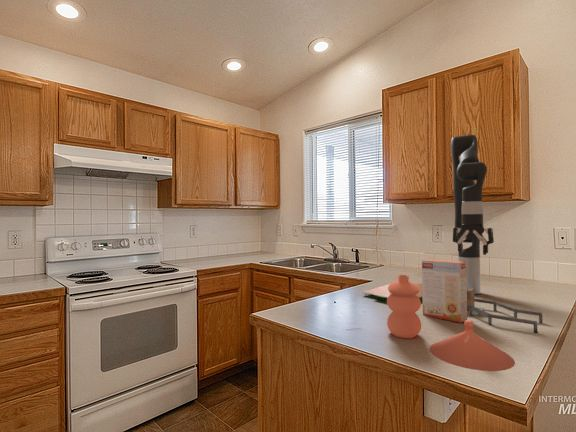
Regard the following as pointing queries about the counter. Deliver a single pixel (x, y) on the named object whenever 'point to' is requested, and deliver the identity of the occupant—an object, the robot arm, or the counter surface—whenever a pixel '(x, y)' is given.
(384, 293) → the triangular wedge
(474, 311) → the mat
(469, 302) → the walnut block
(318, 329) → the counter surface
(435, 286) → the cracker box
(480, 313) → the wire channel
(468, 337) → the ceramic vessels
